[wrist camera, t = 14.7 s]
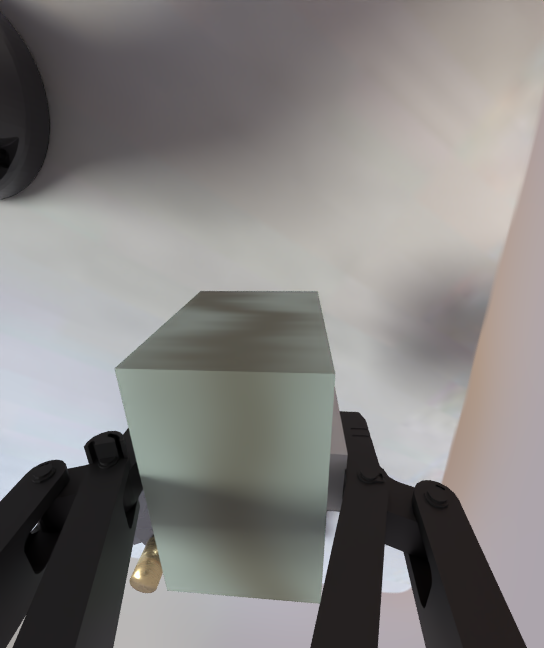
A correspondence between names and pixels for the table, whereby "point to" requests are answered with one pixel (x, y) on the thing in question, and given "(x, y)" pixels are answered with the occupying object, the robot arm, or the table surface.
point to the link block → (236, 442)
